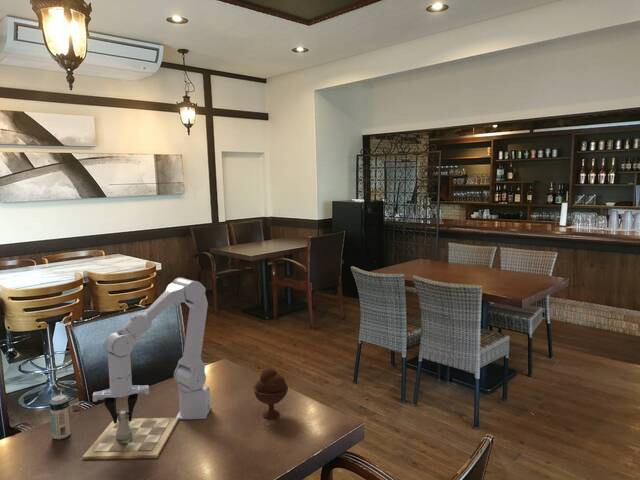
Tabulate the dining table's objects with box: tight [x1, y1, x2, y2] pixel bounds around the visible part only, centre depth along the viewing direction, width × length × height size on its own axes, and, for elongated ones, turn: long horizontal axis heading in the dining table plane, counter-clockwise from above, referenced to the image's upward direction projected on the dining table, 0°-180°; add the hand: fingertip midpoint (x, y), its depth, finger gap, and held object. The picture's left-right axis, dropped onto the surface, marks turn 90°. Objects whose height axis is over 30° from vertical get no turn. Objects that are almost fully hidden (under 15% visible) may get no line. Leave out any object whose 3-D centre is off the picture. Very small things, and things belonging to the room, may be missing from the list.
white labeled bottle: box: [49, 393, 72, 440], centre depth 133 cm, size 5×5×12 cm
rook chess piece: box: [116, 408, 132, 440], centre depth 130 cm, size 4×4×8 cm
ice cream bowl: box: [253, 367, 289, 420], centre depth 144 cm, size 11×11×15 cm
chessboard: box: [82, 417, 180, 460], centre depth 132 cm, size 20×20×1 cm
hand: (123, 420), depth 129 cm, fingers closed on rook chess piece, 3 cm apart
